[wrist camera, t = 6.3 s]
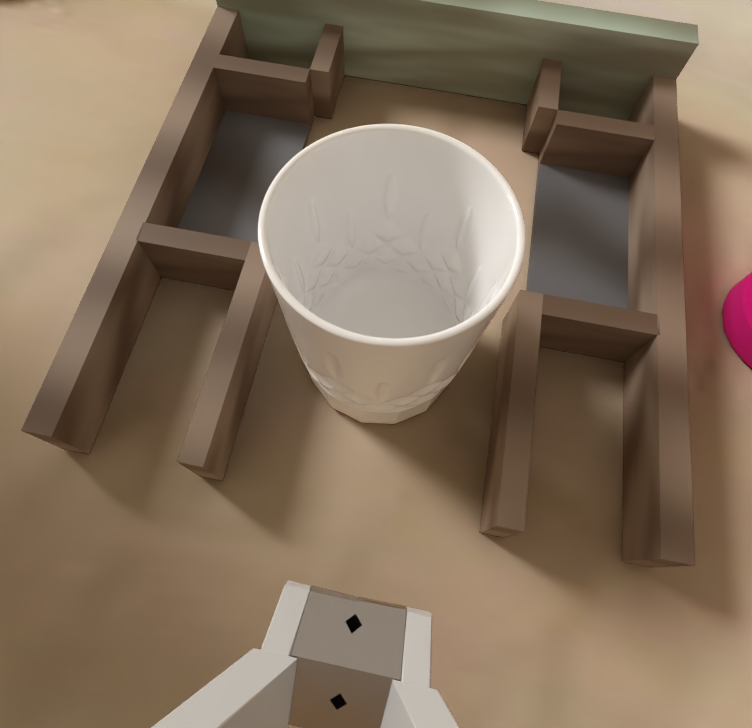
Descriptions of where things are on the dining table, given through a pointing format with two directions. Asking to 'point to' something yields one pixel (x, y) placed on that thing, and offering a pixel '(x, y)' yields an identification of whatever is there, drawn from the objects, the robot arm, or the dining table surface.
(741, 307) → the pepper mill
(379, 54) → the organizer tray
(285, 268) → the white cup
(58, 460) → the dining table surface
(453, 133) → the dining table surface
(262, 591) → the dining table surface
